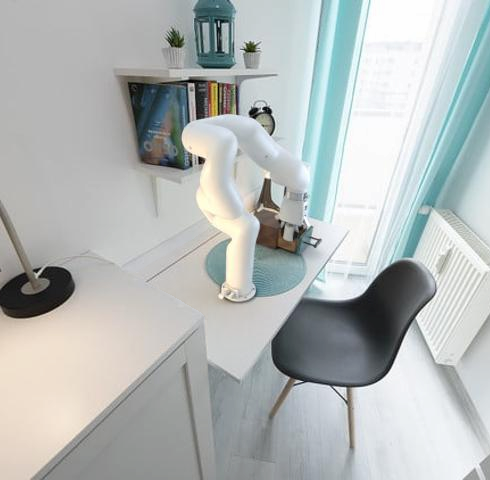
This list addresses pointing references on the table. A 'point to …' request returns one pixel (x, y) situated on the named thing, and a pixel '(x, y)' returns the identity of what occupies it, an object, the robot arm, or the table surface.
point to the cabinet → (267, 228)
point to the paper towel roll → (289, 231)
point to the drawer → (298, 241)
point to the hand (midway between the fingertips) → (289, 236)
